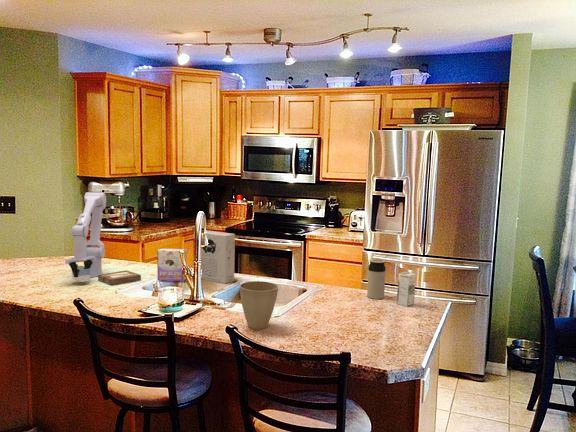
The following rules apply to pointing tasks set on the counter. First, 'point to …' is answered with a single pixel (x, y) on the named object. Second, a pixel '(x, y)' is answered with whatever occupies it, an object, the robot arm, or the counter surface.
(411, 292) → the syrup box
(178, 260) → the candy box
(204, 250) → the cereal box
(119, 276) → the stand
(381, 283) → the travel mug
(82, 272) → the block
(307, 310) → the counter surface
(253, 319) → the plant pot
